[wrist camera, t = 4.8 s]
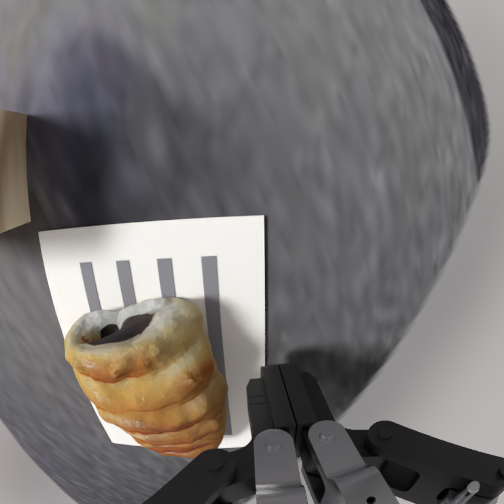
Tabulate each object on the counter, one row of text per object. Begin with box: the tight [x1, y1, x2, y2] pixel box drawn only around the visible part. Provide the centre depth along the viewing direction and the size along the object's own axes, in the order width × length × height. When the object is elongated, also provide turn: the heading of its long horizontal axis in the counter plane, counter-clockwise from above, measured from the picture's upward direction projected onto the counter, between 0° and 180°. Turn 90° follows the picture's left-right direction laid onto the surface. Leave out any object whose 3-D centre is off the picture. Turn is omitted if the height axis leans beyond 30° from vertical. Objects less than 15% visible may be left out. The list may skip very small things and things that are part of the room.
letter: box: [38, 215, 265, 448], centre depth 13 cm, size 14×10×1 cm
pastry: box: [64, 297, 228, 458], centre depth 11 cm, size 9×7×4 cm
